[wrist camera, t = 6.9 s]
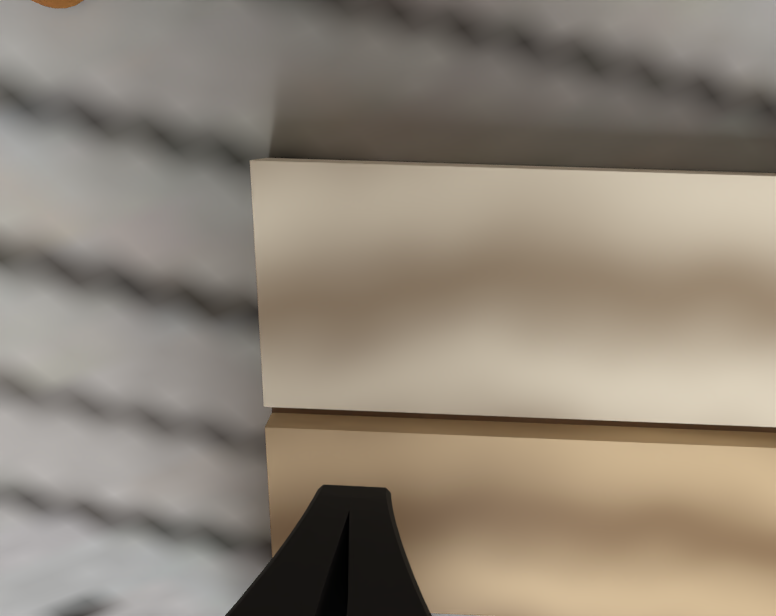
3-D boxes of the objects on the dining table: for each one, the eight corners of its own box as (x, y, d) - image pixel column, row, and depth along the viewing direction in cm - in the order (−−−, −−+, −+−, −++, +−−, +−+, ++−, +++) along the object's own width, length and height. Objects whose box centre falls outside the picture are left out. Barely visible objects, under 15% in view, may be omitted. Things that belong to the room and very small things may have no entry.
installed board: (854, 591, 21) (898, 635, 19) (286, 564, 22) (274, 605, 20) (929, 407, 19) (989, 438, 17) (278, 382, 19) (264, 409, 17)
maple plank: (930, 405, 19) (990, 435, 17) (277, 380, 19) (263, 406, 17) (1023, 180, 16) (1107, 186, 14) (267, 157, 16) (249, 160, 15)
